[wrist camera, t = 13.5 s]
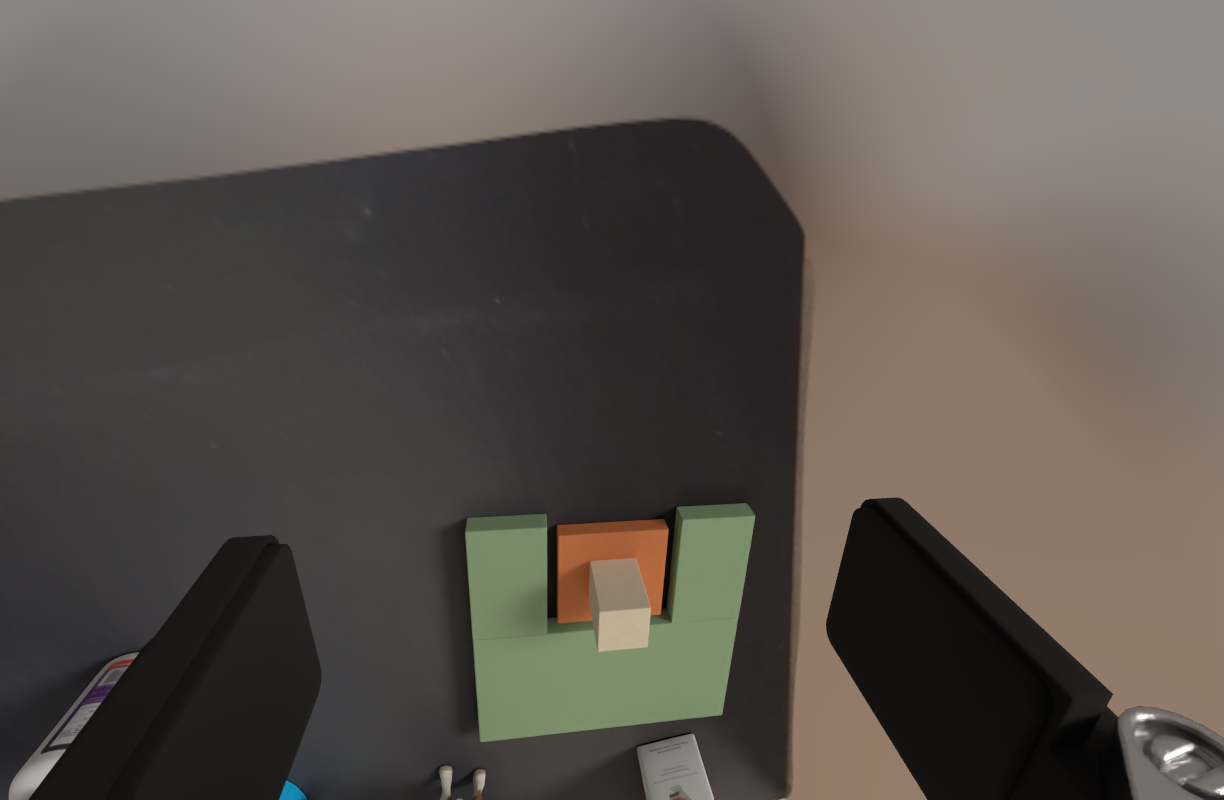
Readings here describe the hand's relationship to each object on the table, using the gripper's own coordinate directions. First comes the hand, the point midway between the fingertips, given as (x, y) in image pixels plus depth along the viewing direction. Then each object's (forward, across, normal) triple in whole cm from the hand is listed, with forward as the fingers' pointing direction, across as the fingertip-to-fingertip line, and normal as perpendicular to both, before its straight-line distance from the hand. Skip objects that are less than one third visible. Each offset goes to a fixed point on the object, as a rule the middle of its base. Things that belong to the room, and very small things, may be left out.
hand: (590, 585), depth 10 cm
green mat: (+22, -4, +23) cm, 32 cm away
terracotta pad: (+22, -4, +19) cm, 29 cm away
